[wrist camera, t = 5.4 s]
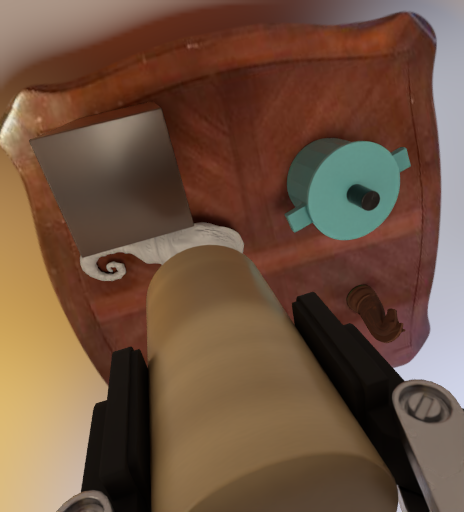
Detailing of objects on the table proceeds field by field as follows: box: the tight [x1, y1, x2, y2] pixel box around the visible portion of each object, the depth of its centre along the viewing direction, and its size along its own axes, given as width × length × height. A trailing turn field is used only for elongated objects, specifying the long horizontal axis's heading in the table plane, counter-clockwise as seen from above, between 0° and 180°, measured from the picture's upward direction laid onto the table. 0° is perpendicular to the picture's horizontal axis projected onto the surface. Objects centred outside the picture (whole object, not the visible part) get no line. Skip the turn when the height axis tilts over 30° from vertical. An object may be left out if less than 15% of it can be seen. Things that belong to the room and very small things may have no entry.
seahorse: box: [80, 222, 244, 281], centre depth 45 cm, size 5×12×20 cm
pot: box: [285, 138, 411, 232], centre depth 45 cm, size 10×16×8 cm, turn 117°
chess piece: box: [347, 285, 405, 343], centre depth 54 cm, size 5×5×10 cm
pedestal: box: [29, 101, 194, 258], centre depth 32 cm, size 8×8×20 cm
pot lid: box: [307, 141, 400, 240], centre depth 40 cm, size 11×11×4 cm
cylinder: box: [146, 245, 398, 512], centre depth 11 cm, size 5×5×9 cm
